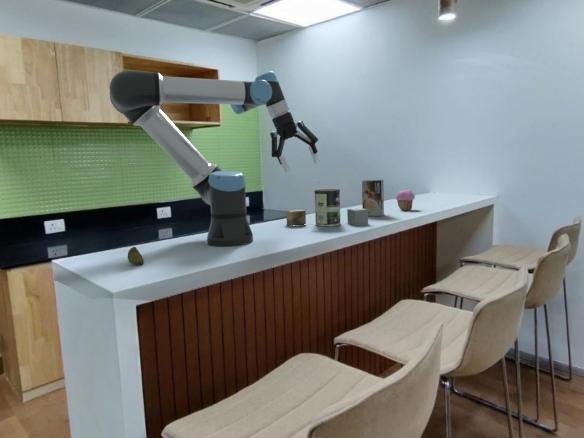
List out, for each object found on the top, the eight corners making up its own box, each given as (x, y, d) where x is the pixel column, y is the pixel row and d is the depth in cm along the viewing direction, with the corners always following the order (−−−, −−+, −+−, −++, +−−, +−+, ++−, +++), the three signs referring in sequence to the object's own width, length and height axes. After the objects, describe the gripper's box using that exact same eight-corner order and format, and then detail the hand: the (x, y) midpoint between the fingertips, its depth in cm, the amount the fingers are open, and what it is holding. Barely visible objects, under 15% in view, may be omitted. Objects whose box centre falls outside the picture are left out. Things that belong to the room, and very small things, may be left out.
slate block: (355, 225, 165) (354, 210, 164) (347, 223, 171) (347, 208, 170) (368, 224, 168) (368, 208, 167) (360, 222, 173) (360, 207, 172)
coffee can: (341, 222, 174) (340, 188, 172) (339, 226, 164) (338, 190, 162) (317, 222, 176) (316, 189, 174) (313, 226, 166) (312, 191, 164)
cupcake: (418, 209, 206) (418, 189, 205) (406, 211, 201) (406, 190, 200) (404, 208, 214) (404, 188, 212) (392, 210, 209) (392, 190, 207)
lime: (134, 262, 115) (133, 244, 114) (149, 263, 114) (148, 245, 113) (123, 266, 111) (122, 248, 110) (139, 267, 110) (137, 248, 109)
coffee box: (384, 214, 194) (384, 179, 192) (382, 216, 188) (381, 180, 186) (364, 214, 197) (364, 180, 195) (361, 216, 191) (361, 180, 189)
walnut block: (292, 226, 168) (291, 211, 167) (286, 224, 174) (286, 210, 173) (305, 225, 171) (305, 210, 170) (300, 223, 176) (299, 208, 175)
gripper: (312, 100, 152) (333, 154, 158) (259, 122, 165) (280, 171, 171) (304, 105, 146) (326, 161, 152) (249, 127, 159) (271, 178, 165)
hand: (302, 166), depth 161 cm, fingers open, 13 cm apart
